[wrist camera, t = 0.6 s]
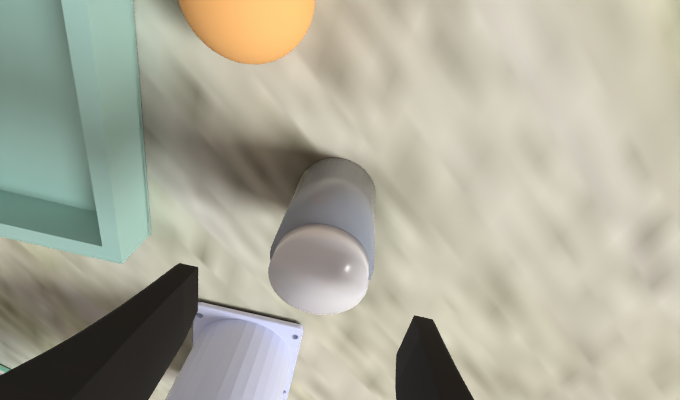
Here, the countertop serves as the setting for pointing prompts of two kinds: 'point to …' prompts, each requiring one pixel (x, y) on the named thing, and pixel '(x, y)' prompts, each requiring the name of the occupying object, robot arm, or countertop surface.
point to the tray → (72, 127)
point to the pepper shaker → (326, 239)
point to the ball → (249, 26)
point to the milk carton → (3, 369)
